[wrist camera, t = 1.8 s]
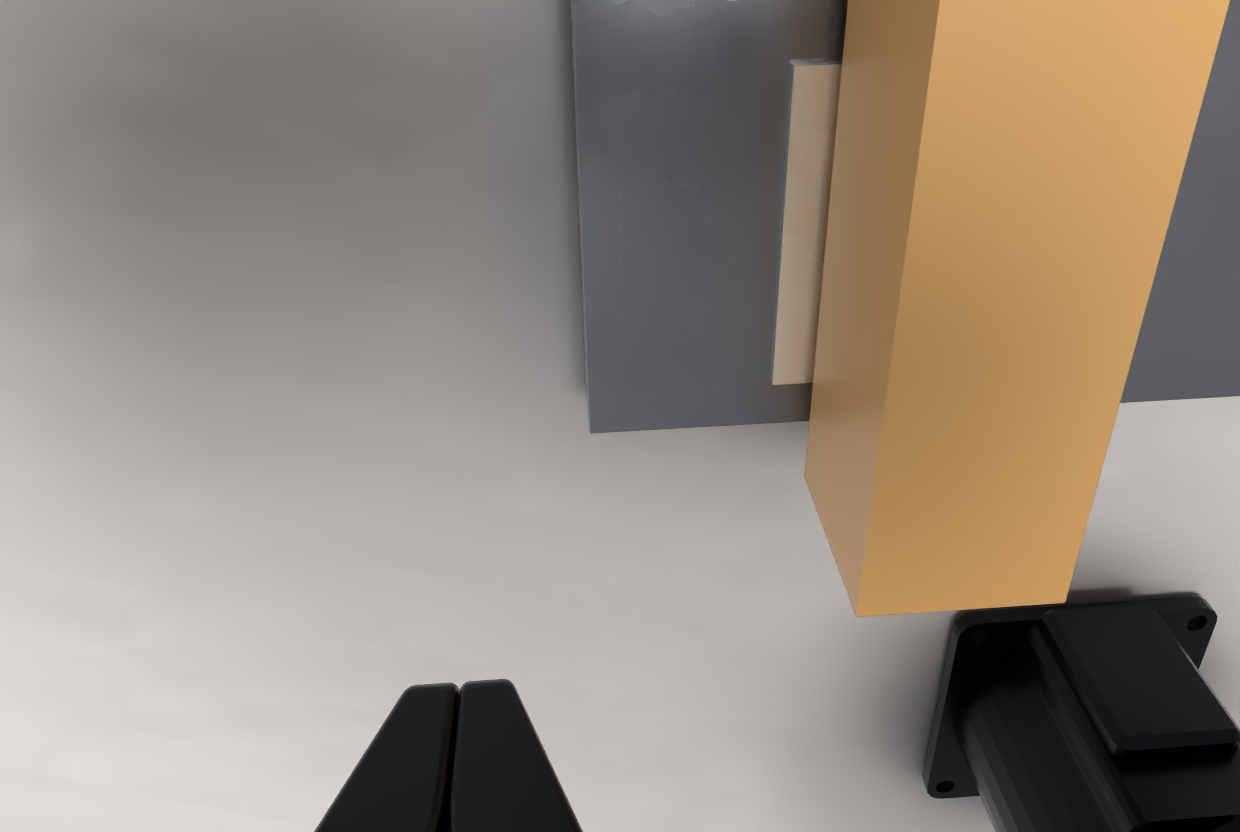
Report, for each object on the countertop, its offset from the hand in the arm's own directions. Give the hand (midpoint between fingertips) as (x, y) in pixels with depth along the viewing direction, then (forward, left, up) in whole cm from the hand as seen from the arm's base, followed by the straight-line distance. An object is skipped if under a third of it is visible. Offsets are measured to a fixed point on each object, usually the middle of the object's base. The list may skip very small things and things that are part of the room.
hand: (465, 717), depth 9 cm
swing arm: (+5, -7, -11) cm, 14 cm away
